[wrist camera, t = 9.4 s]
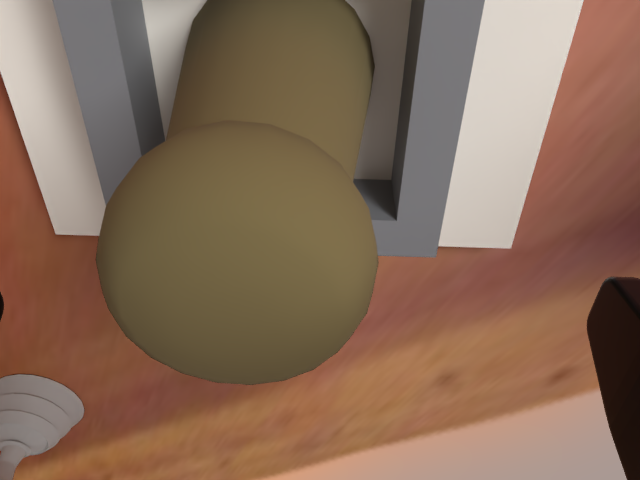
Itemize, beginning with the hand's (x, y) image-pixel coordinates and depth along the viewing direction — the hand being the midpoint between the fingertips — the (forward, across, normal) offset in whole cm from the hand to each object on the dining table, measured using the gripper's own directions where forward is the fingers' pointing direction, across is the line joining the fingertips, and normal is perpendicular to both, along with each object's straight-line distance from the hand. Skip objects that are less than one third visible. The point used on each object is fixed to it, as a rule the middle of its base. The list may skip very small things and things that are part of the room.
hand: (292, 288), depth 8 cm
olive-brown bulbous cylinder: (+12, +1, +1) cm, 12 cm away
